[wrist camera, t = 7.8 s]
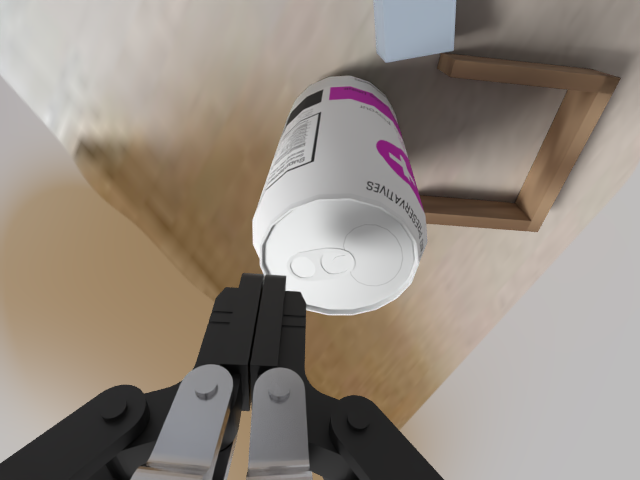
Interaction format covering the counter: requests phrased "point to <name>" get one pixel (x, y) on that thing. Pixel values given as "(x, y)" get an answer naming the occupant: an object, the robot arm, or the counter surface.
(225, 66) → the counter surface
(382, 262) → the supplement can
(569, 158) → the frame
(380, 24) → the slate-blue block
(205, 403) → the robot arm
